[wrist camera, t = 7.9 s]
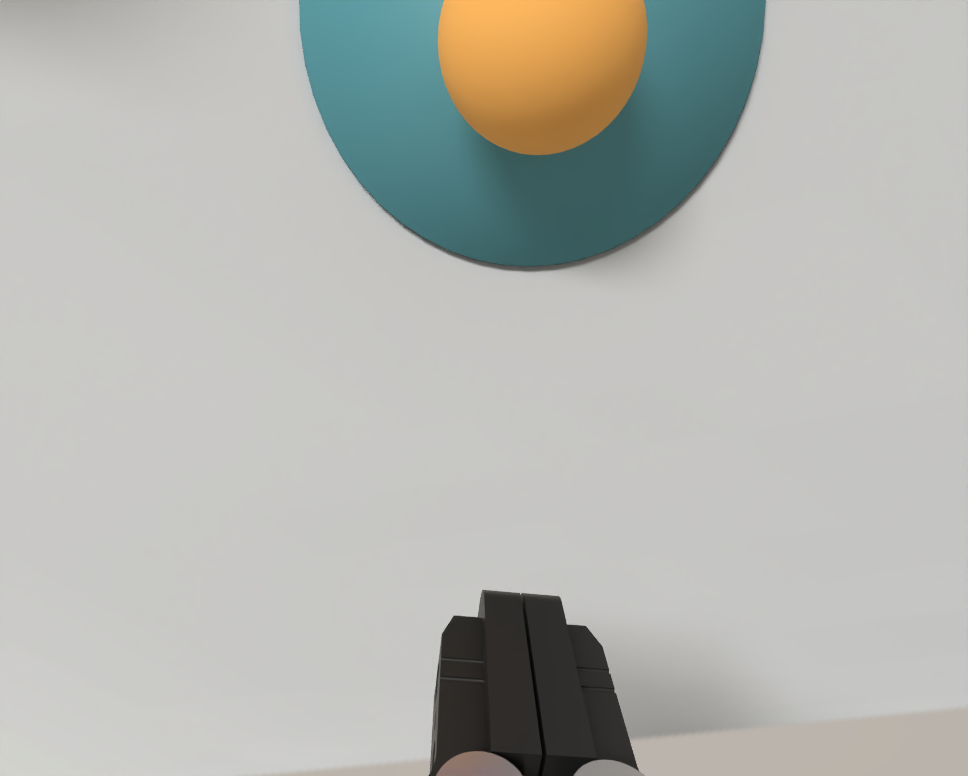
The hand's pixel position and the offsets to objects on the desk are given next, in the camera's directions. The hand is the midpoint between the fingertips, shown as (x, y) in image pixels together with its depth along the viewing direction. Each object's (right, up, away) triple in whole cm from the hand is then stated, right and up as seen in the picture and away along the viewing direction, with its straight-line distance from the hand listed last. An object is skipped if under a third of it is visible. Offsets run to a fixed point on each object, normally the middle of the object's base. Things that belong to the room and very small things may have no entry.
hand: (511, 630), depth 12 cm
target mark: (+1, +16, +7) cm, 17 cm away
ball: (+1, +14, +5) cm, 15 cm away
